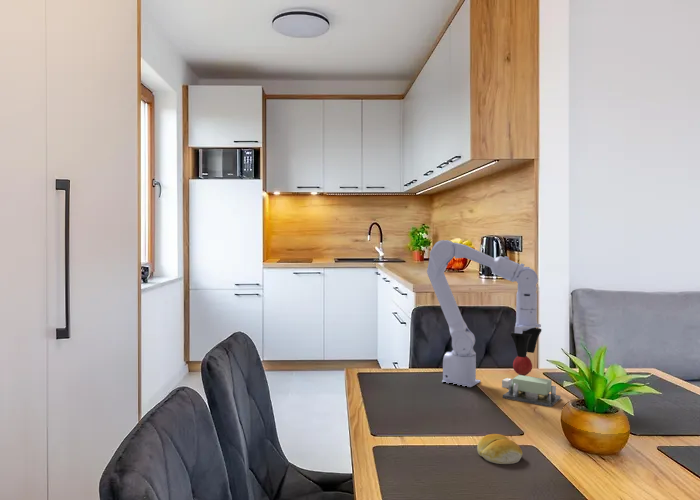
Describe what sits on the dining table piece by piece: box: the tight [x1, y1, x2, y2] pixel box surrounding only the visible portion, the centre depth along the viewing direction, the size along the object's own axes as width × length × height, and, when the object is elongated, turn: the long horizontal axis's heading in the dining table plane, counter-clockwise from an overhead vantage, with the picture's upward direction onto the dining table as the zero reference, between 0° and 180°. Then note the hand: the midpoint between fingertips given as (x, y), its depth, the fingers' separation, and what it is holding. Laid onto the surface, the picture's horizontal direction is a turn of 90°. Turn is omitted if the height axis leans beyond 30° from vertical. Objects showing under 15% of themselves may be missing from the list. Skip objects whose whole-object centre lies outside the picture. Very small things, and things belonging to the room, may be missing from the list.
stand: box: [501, 377, 511, 389], centre depth 153 cm, size 8×3×2 cm, turn 53°
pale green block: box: [512, 374, 553, 395], centre depth 143 cm, size 9×5×3 cm, turn 54°
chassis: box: [502, 378, 562, 408], centre depth 143 cm, size 13×9×4 cm
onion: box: [512, 355, 533, 376], centre depth 166 cm, size 6×6×8 cm
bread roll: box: [476, 433, 524, 465], centre depth 105 cm, size 8×9×4 cm
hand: (526, 354), depth 153 cm, fingers open, 7 cm apart
